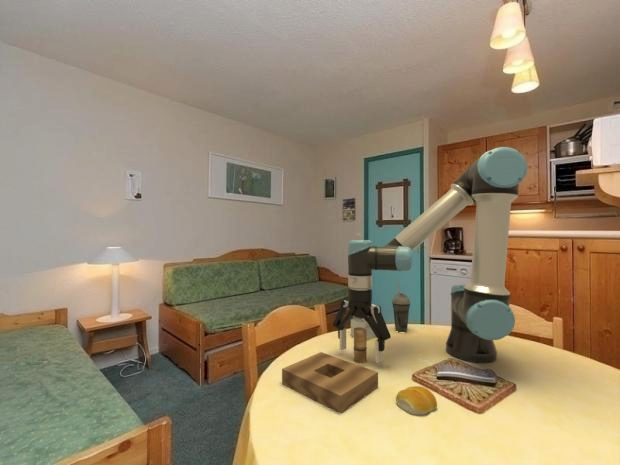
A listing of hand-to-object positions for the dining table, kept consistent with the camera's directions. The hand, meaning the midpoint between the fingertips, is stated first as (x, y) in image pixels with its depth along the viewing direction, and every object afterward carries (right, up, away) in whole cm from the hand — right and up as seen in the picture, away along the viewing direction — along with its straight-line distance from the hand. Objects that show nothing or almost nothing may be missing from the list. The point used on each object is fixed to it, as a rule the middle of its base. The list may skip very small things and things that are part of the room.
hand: (360, 354), depth 97 cm
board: (-11, -2, -16) cm, 19 cm away
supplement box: (+5, -2, +23) cm, 23 cm away
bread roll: (+9, -2, -25) cm, 27 cm away
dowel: (0, -2, 0) cm, 2 cm away
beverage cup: (+22, -2, +29) cm, 36 cm away
